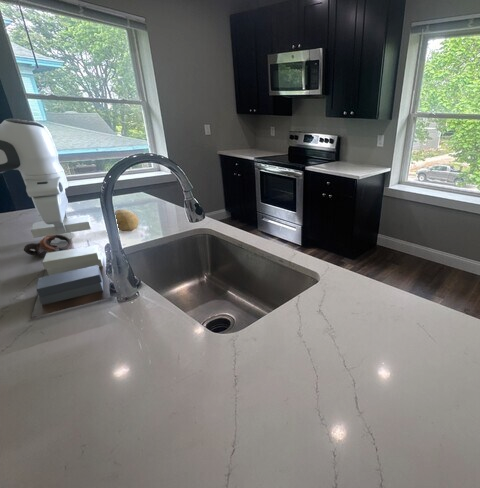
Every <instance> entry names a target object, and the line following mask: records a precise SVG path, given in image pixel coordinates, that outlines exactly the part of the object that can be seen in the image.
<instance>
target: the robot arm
mask: <svg viewBox="0 0 480 488" xmlns="http://www.w3.org/2000/svg"><path fill="white" fill-rule="evenodd" d="M13 170H14V171H19V173H20V175H21V178H22V180H23V183H24V185H25V192H26V193H27V196H28V197H29V198H31V197H33V200H32V202H33V201H34V203H35V205H36V207H37V209H38V211H39V213H40V215H41V217H42V219H43V221H44V222H45V223H46V224H47V225H50V224H53V225H54V226H55V228H56V229H57V232H58V233H59V234H64V233H66V228H65V226H64V224H63V220H64V218H68V214H67V210H68V205H69V201H68V197H67V195H66V189H68V188H69V187H70V184H69V181H68V178H67V175H66V173H65V170H64V168H63V166H62V164H61V163H60V160H59V152H58V149H57V147H56V144H55V141H54V139H53V137H52V134H51V133H50V131H49V129H48V128H47V127H46V126H45V125H44V124H42V123H41V122H38V121H35V120H29V119H24V118H23V119H22V118H7V119H6V118H5V119H4V120H3V121H2V122H1V123H0V174H2V173H5V172H9V171H13ZM34 203H33V204H34ZM35 205H34V206H35Z"/></svg>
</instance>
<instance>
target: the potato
mask: <svg viewBox="0 0 480 488" xmlns="http://www.w3.org/2000/svg"><path fill="white" fill-rule="evenodd" d="M114 212H115V215H116V219H117V224H118V228H119V230H118V231H121V232H133V231H135V230H136V229H137V228H138V226H139V225H140V221H139V217H138V216H137V215H136V213H134V212H132V211H130V210H128V209H121V208H120V209H116V210H115V211H114Z"/></svg>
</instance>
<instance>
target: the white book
mask: <svg viewBox="0 0 480 488" xmlns="http://www.w3.org/2000/svg"><path fill="white" fill-rule="evenodd" d="M63 224H64V226H65V228H66V233H70V232H71V233H76V232H81V231H83V232H84V231H89V230H92V218H91V216H90V214H88V215H80V216H79V215H78V216H72V217H71V216H70V217H67V218H64V220H63ZM30 233H31V235H32V237H33V239H37V238H44V237H46V236H50V235H56V234H59V233H58V232H57V229H56V228H55V226H54V225H53V224H50V225H47V224H46V223H45V222H44V221H34V222H33V224H32V226H31V228H30Z"/></svg>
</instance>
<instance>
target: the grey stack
mask: <svg viewBox="0 0 480 488" xmlns="http://www.w3.org/2000/svg"><path fill="white" fill-rule="evenodd" d="M99 291H103V279H102V276H101V272H100V269H99V266H98V265H95V266H91V267H86V268H82V269H77V270H72V271H68V272H63V273H59V274H54V275H50V276H45V277H44V276H41V277H38V279H37V283H36V292H37V295H38V294H39V297H38V298H39V300H40V302H41V305H45V304H49V303H53V302H58V301H62V300H66V299H70V298H74V297H78V296H83V295H87V294H91V293H95V292H99Z"/></svg>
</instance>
